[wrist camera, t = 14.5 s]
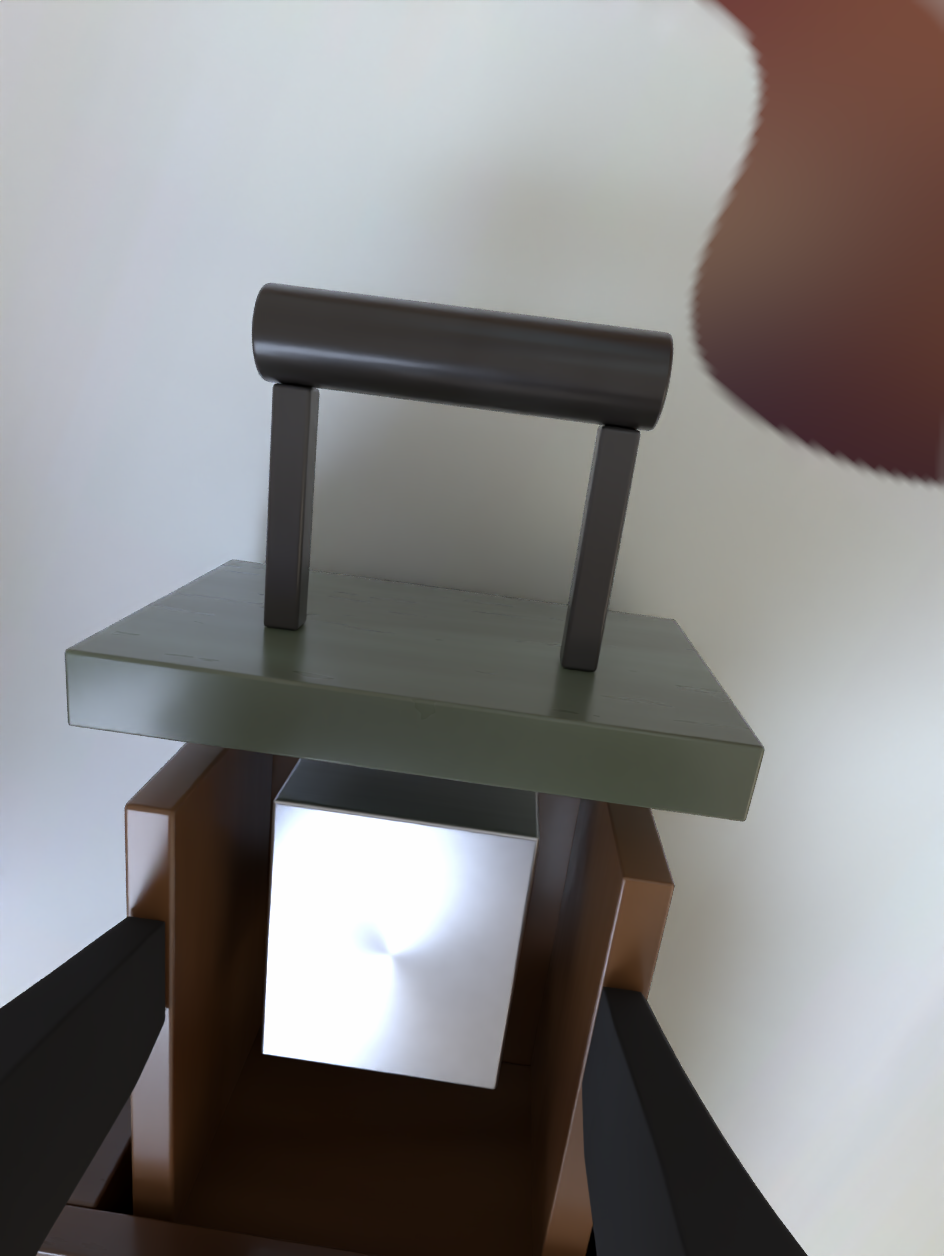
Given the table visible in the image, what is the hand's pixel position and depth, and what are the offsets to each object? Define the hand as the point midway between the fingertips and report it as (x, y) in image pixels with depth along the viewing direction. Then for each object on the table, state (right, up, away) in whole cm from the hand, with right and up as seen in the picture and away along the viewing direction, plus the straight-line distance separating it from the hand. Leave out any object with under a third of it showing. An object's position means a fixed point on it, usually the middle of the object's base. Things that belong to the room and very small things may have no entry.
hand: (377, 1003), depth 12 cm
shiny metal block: (0, +2, +5) cm, 5 cm away
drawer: (+1, +4, +5) cm, 6 cm away
